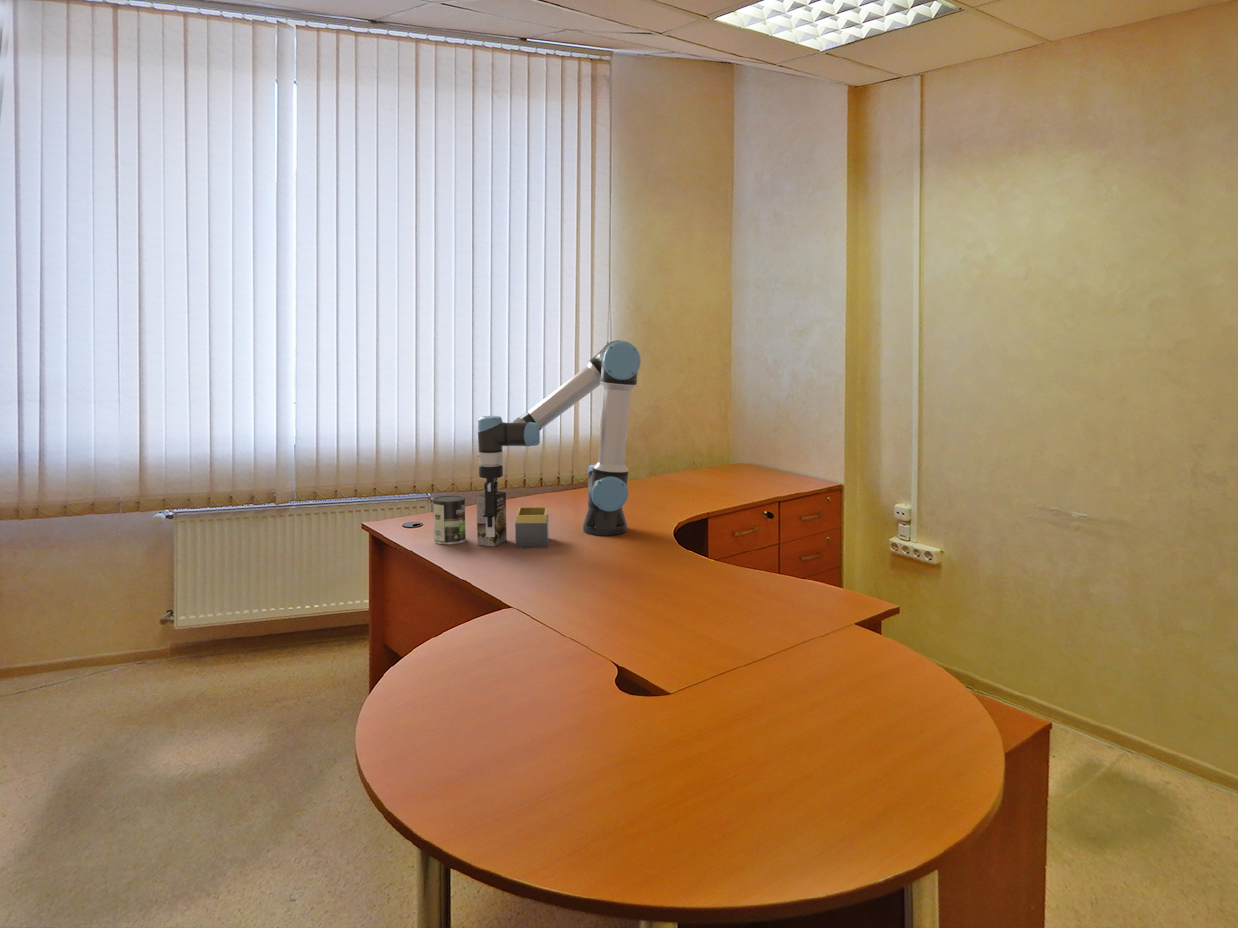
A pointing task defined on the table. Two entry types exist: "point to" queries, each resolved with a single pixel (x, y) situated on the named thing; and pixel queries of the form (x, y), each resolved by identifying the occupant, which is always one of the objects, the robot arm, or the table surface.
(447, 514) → the coffee can
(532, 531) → the grey yellow open box
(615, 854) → the table surface
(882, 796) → the table surface
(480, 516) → the coffee box
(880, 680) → the table surface
